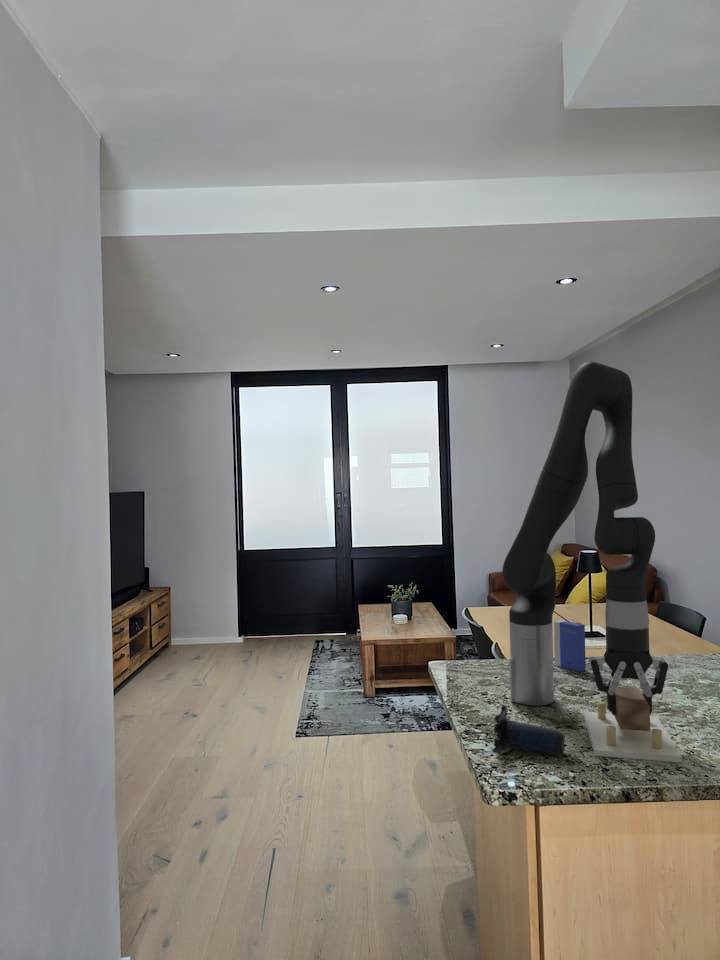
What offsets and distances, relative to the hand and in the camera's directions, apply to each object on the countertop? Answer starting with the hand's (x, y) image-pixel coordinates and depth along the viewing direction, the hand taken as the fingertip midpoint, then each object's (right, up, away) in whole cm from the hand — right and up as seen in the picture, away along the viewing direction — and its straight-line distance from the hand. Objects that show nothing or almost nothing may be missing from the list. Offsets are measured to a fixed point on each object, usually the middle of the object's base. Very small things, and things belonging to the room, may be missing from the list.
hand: (629, 714), depth 122 cm
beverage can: (-20, -5, -5) cm, 21 cm away
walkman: (+4, -5, +47) cm, 48 cm away
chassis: (0, -4, 0) cm, 4 cm away
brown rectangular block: (0, -1, 0) cm, 1 cm away
